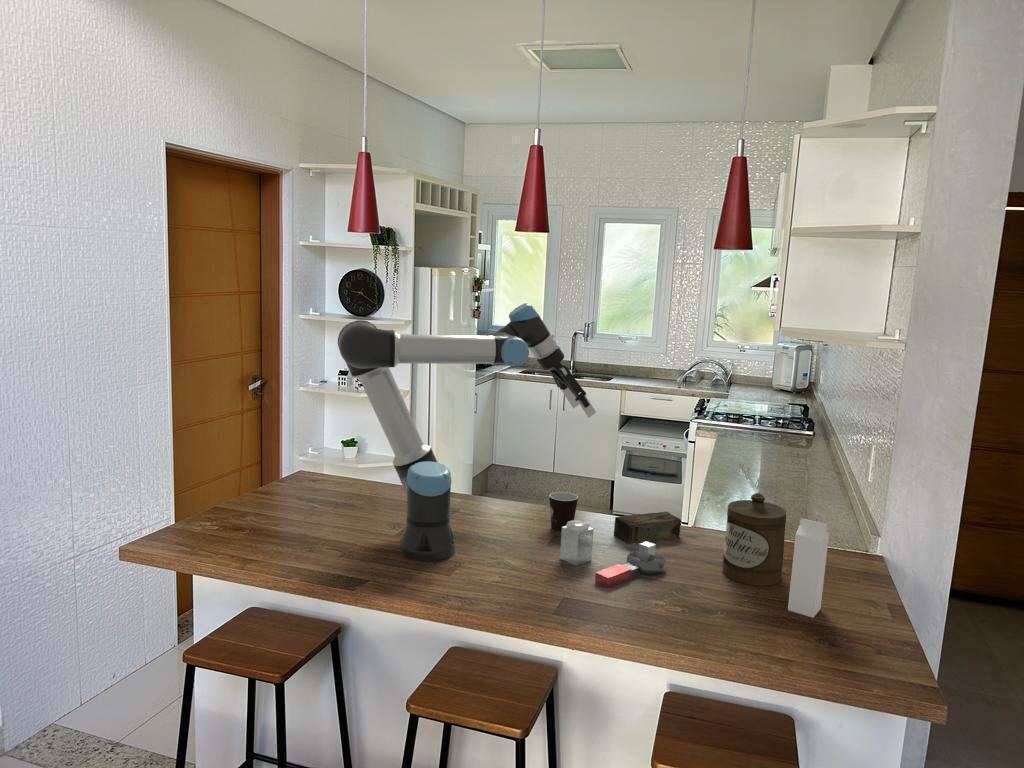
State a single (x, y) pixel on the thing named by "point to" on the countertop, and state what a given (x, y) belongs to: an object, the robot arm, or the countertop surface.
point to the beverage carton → (646, 527)
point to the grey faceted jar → (576, 542)
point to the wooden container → (754, 541)
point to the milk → (808, 568)
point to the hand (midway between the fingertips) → (584, 410)
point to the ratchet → (633, 566)
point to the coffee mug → (562, 509)
